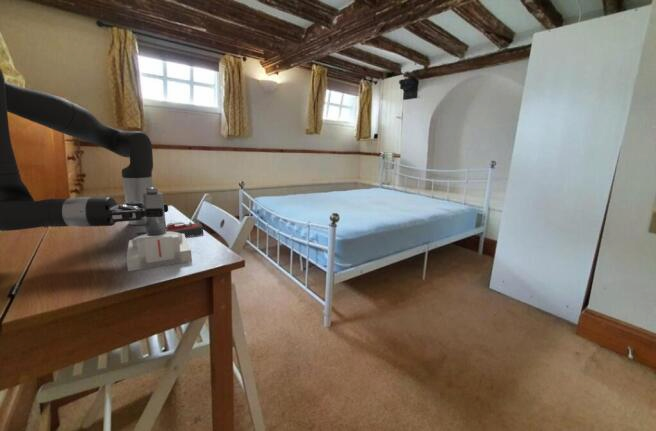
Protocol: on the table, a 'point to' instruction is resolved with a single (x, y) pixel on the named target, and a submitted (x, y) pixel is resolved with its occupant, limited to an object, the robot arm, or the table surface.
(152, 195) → the steel weight
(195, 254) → the table surface
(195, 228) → the walkie-talkie
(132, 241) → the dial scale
